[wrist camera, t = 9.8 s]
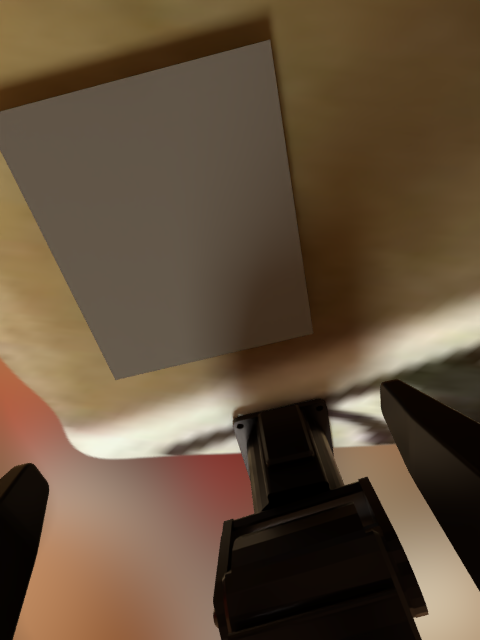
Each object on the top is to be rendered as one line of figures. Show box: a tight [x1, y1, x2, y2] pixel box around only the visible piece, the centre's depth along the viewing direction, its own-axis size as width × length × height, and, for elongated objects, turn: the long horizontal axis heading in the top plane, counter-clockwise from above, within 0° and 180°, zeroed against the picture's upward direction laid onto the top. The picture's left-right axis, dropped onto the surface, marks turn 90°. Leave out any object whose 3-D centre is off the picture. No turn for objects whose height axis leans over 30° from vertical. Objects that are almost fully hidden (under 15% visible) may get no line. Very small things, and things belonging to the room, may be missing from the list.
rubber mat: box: [0, 40, 313, 380], centre depth 18 cm, size 14×12×1 cm
